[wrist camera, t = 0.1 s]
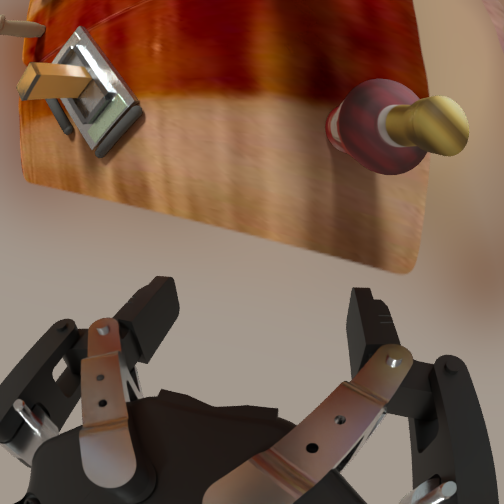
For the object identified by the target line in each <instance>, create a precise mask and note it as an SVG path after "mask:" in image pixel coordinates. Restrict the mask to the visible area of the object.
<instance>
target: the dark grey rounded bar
mask: <svg viewBox="0 0 504 504" xmlns="http://www.w3.org/2000/svg"><path fill="white" fill-rule="evenodd" d="M141 114H142V108H141V107H140V106H134V107H132V108H131V109H130V110H129V111H128V113H127V114H126V115H125V116H124V117H123V118H122V119H121V120H120V121H119V123H118V124H117V125H116V126H115V127H114V128H113V130H112V131H111V132H110V133H109V134H108V135H107V137H106V138H105V139H104V140H103V142H102V143H101V144H100V145H99V147H98V148H97V149H96V151H95V155H96V156H97V157H98V158H102V157H104V156H105V155H106V153H107V152H108V151H109V150H110V149H111V147H112V146H113V145H114V144H115V143H116V142H117V141H118V139H119V138H120V137H121V136H122V135H123V134H124V133H125V132H126V130H127V129H128V128H129V127H130V126H131V125H132V124H133V123H134V122H135V121H136V120H137V119H138V118H139V117H140V116H141Z"/></svg>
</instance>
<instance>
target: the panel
mask: <svg viewBox="0 0 504 504" xmlns="http://www.w3.org/2000/svg"><path fill="white" fill-rule="evenodd" d="M52 64H64V65H73V66H82V67H85V68H86V70H87V71H88V73H89V74H90V76H91V77H92V79H91V81H90V82H89V83H88V85H87V86H86V87H85V88H84V90H83V91H82V92H81V94H80V95H79V97H78V98H60V99H61V100H62V102H63V104H64V105H65V107H66V109H67V111H68V112H69V114H70V116H71V117H72V119H73V121H74V122H75V124H76V126H77V127H78V129H79V131H80V132H81V134H82V135H83V137H84V139H85V140H86V142H87V143H88V145H89V146H90V148H91V150H96V149H97V148H98V147H99V145H100V144H101V143H102V142H103V140H104V139H105V138H106V137H107V135H108V134H109V133H110V132H111V131H112V130H113V128H114V127H115V126H116V125H117V124H118V123H119V121H120V120H121V119H122V118H123V117H124V116H125V115H126V114H127V113H128V111H129V110H130V109H131V108H132V107H134V106H135V105H136V104H137V103H138V102H139V100H138V99H137V97H136V96H135V95H134V93H133V92H132V90H131V89H130V88H129V86H128V85H127V84H126V82H125V81H124V80H123V78H122V77H121V76H120V74H119V73H118V72H117V70H116V69H115V68H114V66H113V65H112V64H111V62H110V61H109V59H108V58H107V57H106V55H105V54H104V53H103V51H102V50H101V49H100V47H99V46H98V45H97V43H96V42H95V41H94V39H93V38H92V37H91V35H90V34H89V32H88V31H87V30H86V28H85V27H82V26H79V27H78V28H77V30H76V31H75V32H74V33H73V35H72V36H71V37H70V38H69V40H68V41H67V42H66V44H65V45H64V46H63V48H62V49H61V50H60V52H59V53H58V55H57V56H56V58H55V59H54V60H53V62H52Z"/></svg>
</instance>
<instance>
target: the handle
mask: <svg viewBox="0 0 504 504" xmlns="http://www.w3.org/2000/svg"><path fill="white" fill-rule="evenodd" d="M45 28H46V27H45V26H44V25H40V24H38V23H35V22H29V21H7V20H5V15H0V35H10V36H17V37H28V38H30V37H41V36H42V34H43V33H44V32H45Z"/></svg>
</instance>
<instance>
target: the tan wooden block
mask: <svg viewBox="0 0 504 504" xmlns="http://www.w3.org/2000/svg"><path fill="white" fill-rule="evenodd" d="M91 79H92V77H91V76H90V74H89V73H88V71H87V70H86V68H85V67H82V66H73V65H64V64H52V63H35V62H30V63H29V65H28V67H27V68H26V70H25V72H24V74H23V75H22V77H21V79H20V81H19V83H18V85H17V87H16V88H17V90H18V93H19V95H20V97H21V100H22V101H23V100H33V99H51V98H78V97H79V95H80V94H81V92H82V91H83V90H84V88H85V87H86V86H87V85H88V83H89V82H90V81H91Z"/></svg>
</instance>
